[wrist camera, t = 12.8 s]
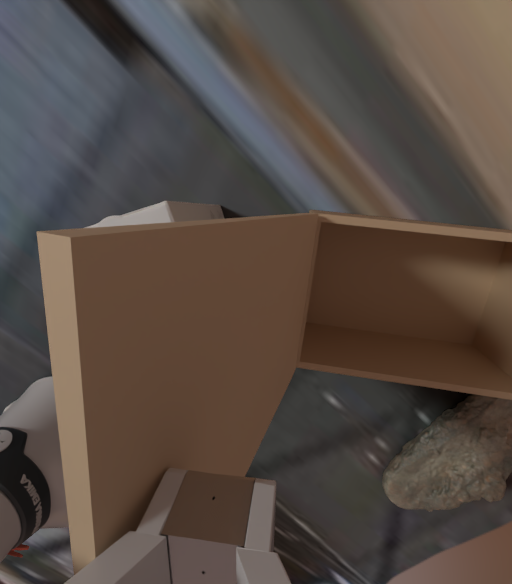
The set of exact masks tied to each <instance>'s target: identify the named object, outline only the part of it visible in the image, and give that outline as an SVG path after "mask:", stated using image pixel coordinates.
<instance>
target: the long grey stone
mask: <svg viewBox="0 0 512 584" xmlns="http://www.w3.org/2000/svg"><path fill="white" fill-rule="evenodd" d="M511 472H512V400H509V399H502V398H496V397H489V396H482V395H476V394H472V395H470V396H468V397H467V398H466V399H465V400H464V401H462V402H461V403H458V404H457V407H456V408H453V409H447V410H446V411H444V412H443V413H442V415H440V416H438V417H437V418H436V420H435V421H434V422H432V423H431V425H430V426H429V427H427V428H426V429H425V430H423V431H422V432H421V433H420V434H419V435H417V436H416V437H415V438H414V439H412V440H411V441H409V442H407V443H406V444H405V445H404V446H403V450H402V451H401V452H400V453H399V454H396V456H395V457H394V458H393V459H392V460H391V461H390V463H389V465H388V466H387V468H386V469H385V470H384V472H383V477H382V484H383V488H384V491H385V493H386V495H387V496H388V498H389V499H390V500H391V501H392V502H393V503H394V504H396V505H397V506H398V507H401V508H404V509H426V510H427V511H430V512H431V511H433V510H441V509H444V510H446V509H452V508H456V507H459V506H460V505H461V504H462V503H468V502H471V501H474V500H480V499H481V498H482V497H483V498H485V499H486V500H487V501H489V502H493V501H496V500H498V501H499V500H501V499H502V498H503V496H504V492H505V490H506V479H507V478H508V476H509V475H510V473H511Z"/></svg>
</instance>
